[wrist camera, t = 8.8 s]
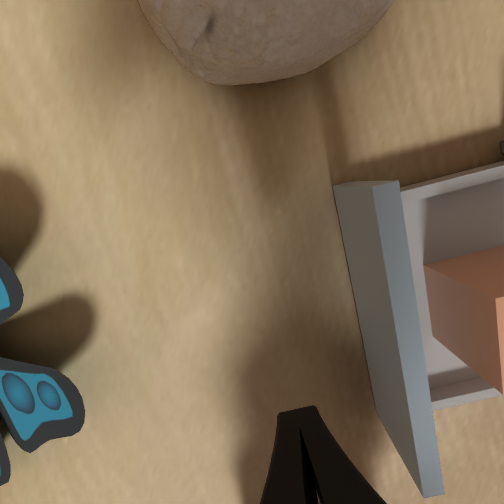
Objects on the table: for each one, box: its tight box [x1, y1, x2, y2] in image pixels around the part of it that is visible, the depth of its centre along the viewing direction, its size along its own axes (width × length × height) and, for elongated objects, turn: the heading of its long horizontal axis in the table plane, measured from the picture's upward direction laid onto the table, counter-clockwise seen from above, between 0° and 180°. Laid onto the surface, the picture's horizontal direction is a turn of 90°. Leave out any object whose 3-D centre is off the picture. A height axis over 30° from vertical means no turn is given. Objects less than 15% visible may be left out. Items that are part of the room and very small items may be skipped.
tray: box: [333, 161, 504, 498], centre depth 15 cm, size 12×15×5 cm
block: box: [423, 245, 504, 395], centre depth 15 cm, size 4×4×5 cm
